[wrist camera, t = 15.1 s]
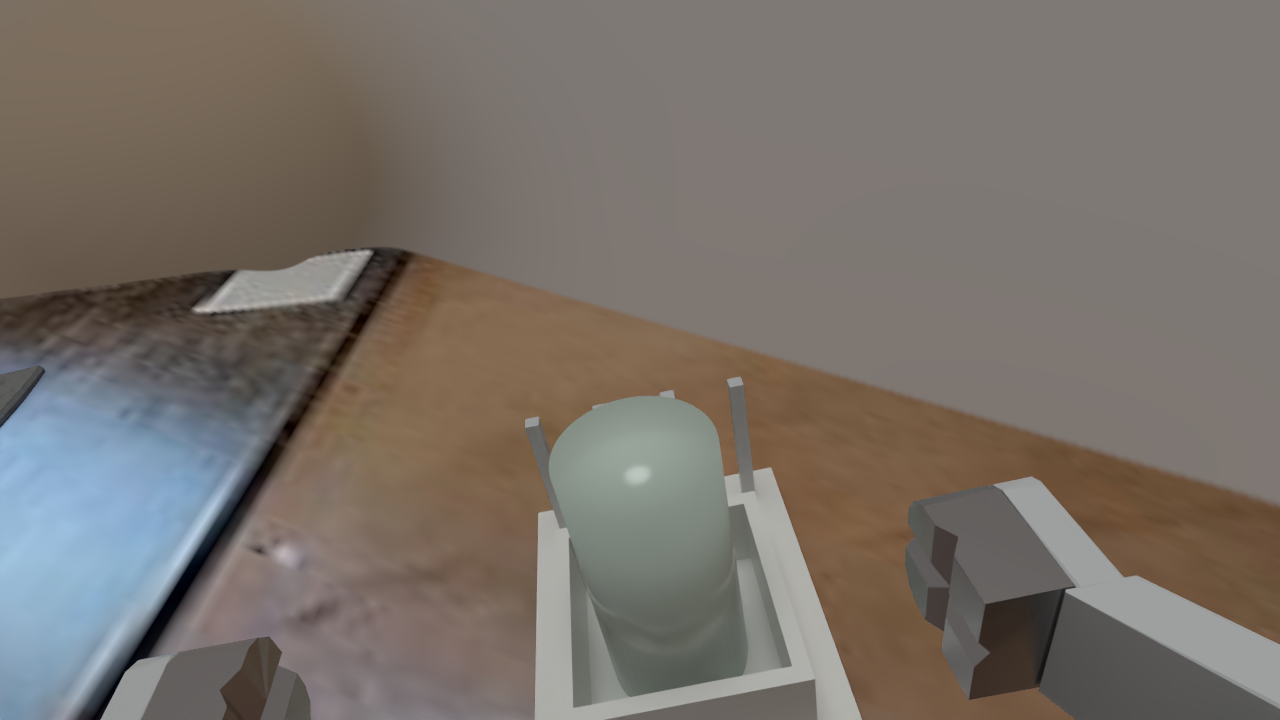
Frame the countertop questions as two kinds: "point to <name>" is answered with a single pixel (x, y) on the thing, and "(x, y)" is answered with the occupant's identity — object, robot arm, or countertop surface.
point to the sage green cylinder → (654, 541)
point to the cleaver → (16, 389)
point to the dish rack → (772, 605)
